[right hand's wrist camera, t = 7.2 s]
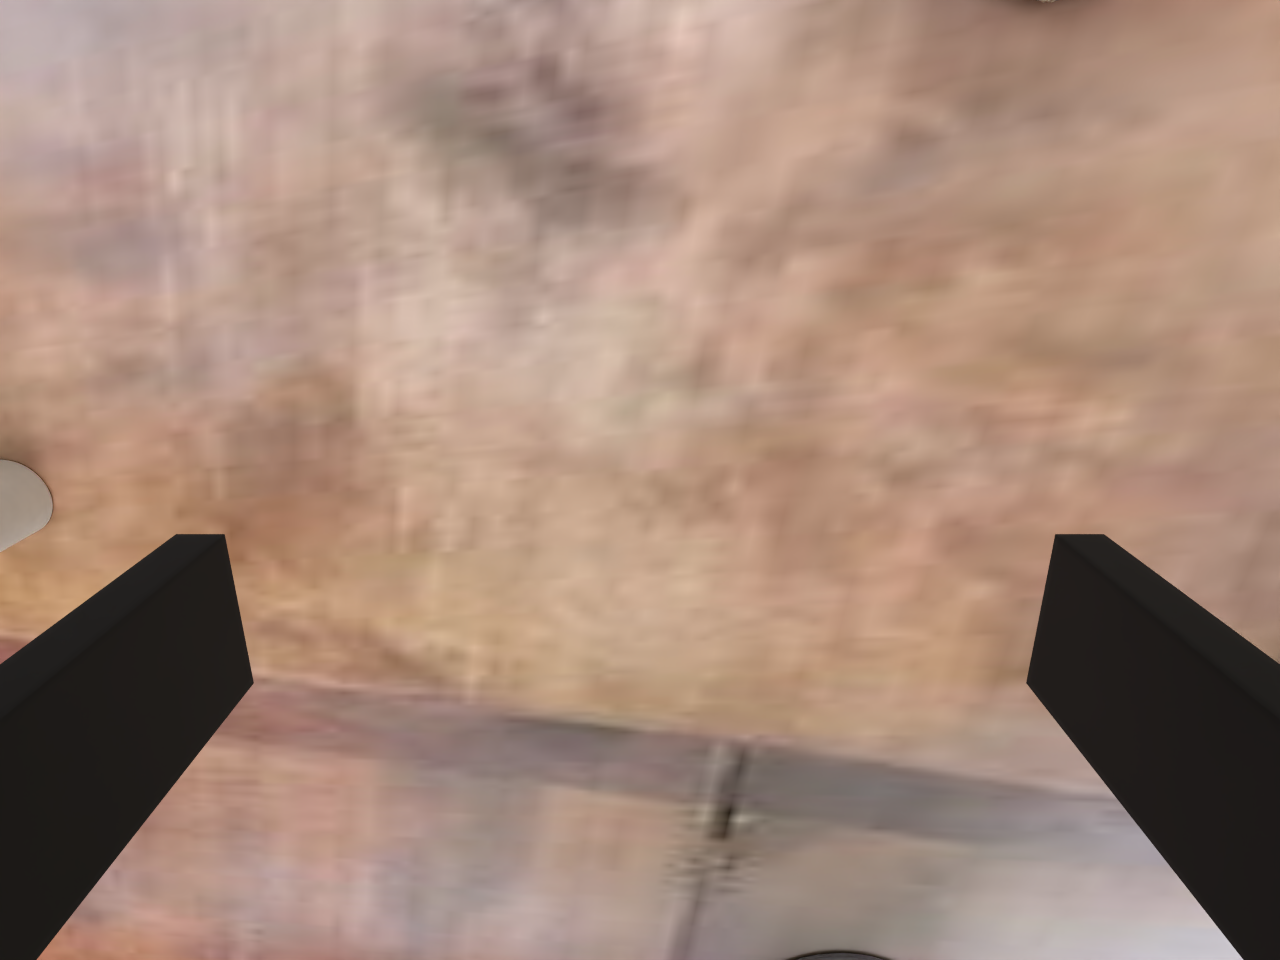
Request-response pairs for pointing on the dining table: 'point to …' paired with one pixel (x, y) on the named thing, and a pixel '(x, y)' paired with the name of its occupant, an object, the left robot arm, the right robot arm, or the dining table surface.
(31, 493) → the bottle
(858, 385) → the dining table surface
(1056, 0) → the rock
